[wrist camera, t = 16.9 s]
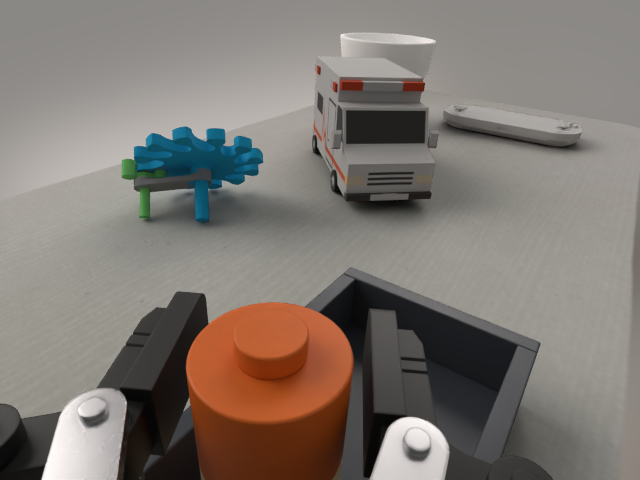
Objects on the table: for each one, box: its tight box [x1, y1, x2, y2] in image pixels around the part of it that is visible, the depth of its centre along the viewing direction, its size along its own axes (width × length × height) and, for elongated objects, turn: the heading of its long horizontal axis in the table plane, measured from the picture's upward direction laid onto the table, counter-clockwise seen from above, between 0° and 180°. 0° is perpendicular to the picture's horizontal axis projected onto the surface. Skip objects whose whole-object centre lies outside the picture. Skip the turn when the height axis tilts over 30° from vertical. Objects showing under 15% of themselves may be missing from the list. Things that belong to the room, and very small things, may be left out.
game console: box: [443, 104, 583, 147], centre depth 62 cm, size 18×2×8 cm
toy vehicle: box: [312, 56, 439, 201], centre depth 43 cm, size 10×17×10 cm, turn 10°
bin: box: [143, 268, 540, 480], centre depth 17 cm, size 16×10×4 cm, turn 146°
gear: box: [122, 127, 263, 222], centre depth 35 cm, size 11×6×10 cm
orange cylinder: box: [186, 303, 354, 480], centre depth 12 cm, size 4×4×10 cm
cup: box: [341, 33, 437, 79], centre depth 60 cm, size 12×12×11 cm
